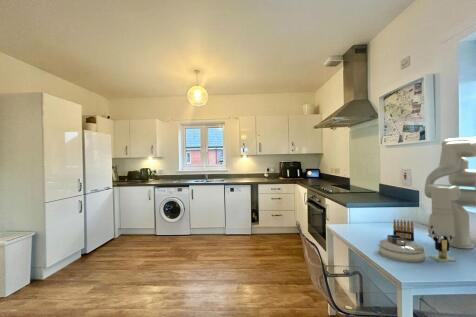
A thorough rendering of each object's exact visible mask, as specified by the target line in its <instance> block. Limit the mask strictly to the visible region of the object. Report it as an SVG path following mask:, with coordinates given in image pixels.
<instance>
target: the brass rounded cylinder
mask: <svg viewBox="0 0 476 317" xmlns="http://www.w3.org/2000/svg"><path fill="white" fill-rule="evenodd" d="M441 243H442V251H438V256H439V258H441V259H447V256H448V251H447V239H443V237H441Z"/></svg>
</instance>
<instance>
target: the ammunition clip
mask: <svg viewBox="0 0 476 317" xmlns="http://www.w3.org/2000/svg"><path fill="white" fill-rule="evenodd" d="M403 220H404V221H403ZM392 228H393V229H392V230H393V232H392V233H393V234H392V235H399V236H401V237H403V238H404V241H410V242H415V229H414V221H413V220H411V221H410V220H407V221H406V220H405V219H400V221H399V219H397V221H396V218H394V219H393V227H392Z"/></svg>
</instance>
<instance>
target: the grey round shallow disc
mask: <svg viewBox="0 0 476 317" xmlns="http://www.w3.org/2000/svg"><path fill="white" fill-rule="evenodd" d="M379 244H380V247H382V248H383V249H385V250H388V251H392V252H396V253H401V254H422V253H424V250H425V247H424V246H423V245H422V244H420V243H417V242H415V241H408V240H404V238H403V237H401V236H399V235H393V234H387V238H386V239H382V240H380V241H379Z"/></svg>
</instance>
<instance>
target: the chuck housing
mask: <svg viewBox="0 0 476 317" xmlns="http://www.w3.org/2000/svg"><path fill="white" fill-rule="evenodd" d="M378 253H379V255H381V256H382V257H385V258H387V259H389V260H393V261H398V262H402V263H403V262H404V263H412V264H415V263H416V264H417V263H423V262H425V261H426V260H427V259H426V250H425V249H424V253H422V254H401V253H396V252H392V251H388V250H385V249H383V248H382V247H380V243H379V244H378Z"/></svg>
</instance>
